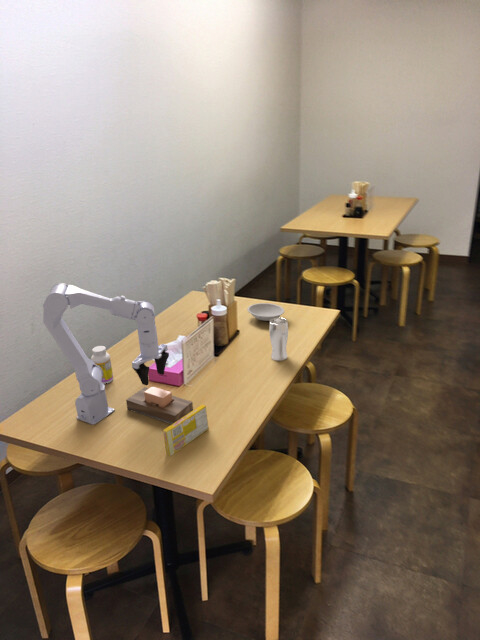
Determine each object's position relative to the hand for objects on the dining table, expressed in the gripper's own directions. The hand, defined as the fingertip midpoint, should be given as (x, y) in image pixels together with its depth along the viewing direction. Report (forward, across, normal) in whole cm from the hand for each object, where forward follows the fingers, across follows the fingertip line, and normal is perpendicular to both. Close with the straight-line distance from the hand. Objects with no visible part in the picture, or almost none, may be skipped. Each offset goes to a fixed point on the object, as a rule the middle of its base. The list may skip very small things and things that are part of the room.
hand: (153, 378), depth 172 cm
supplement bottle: (+11, +4, +29) cm, 31 cm away
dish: (+10, +78, +3) cm, 79 cm away
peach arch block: (+10, -1, -2) cm, 10 cm away
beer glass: (+10, +49, -19) cm, 54 cm away
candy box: (+11, -10, -20) cm, 25 cm away
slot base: (+10, -1, -2) cm, 11 cm away
